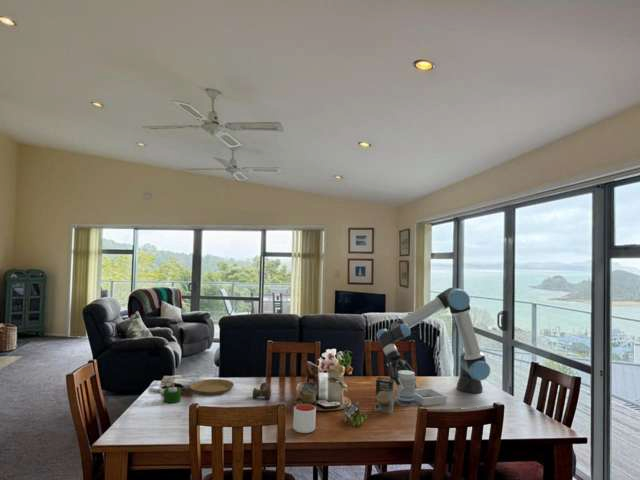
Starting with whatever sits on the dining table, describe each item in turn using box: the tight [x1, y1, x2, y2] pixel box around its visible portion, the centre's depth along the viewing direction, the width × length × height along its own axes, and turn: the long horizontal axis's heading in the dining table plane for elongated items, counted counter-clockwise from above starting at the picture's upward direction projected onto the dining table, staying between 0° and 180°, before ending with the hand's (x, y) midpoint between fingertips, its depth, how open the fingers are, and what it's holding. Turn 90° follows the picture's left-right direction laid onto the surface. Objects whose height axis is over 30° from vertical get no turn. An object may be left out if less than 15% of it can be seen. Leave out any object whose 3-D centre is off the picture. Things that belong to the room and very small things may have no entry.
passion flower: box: [342, 401, 368, 428], centre depth 207 cm, size 11×11×12 cm
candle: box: [163, 381, 182, 405], centre depth 228 cm, size 8×8×10 cm
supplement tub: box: [396, 369, 416, 401], centre depth 240 cm, size 10×10×15 cm
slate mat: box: [394, 397, 421, 407], centre depth 240 cm, size 12×12×1 cm
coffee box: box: [374, 376, 396, 415], centre depth 225 cm, size 9×6×16 cm
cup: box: [292, 403, 317, 434], centre depth 197 cm, size 10×10×10 cm
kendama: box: [252, 382, 272, 400], centre depth 241 cm, size 6×10×20 cm
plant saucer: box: [190, 378, 235, 397], centre depth 248 cm, size 24×24×3 cm
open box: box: [414, 387, 448, 406], centre depth 244 cm, size 15×15×4 cm
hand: (409, 388), depth 237 cm, fingers closed on supplement tub, 9 cm apart
